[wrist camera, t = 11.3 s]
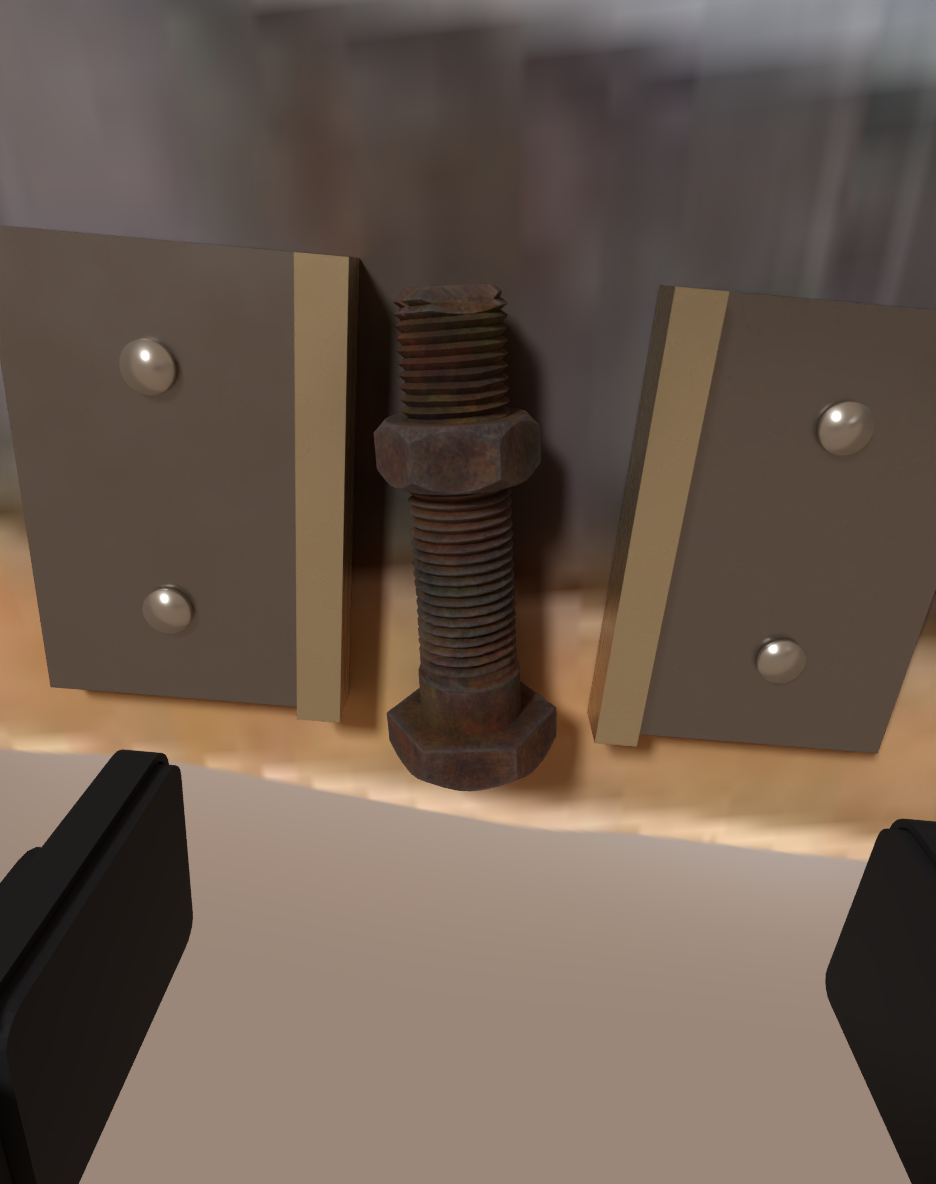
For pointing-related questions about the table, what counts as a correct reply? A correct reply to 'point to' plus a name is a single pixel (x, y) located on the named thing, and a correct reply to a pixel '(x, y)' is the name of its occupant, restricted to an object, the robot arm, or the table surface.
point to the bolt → (462, 542)
